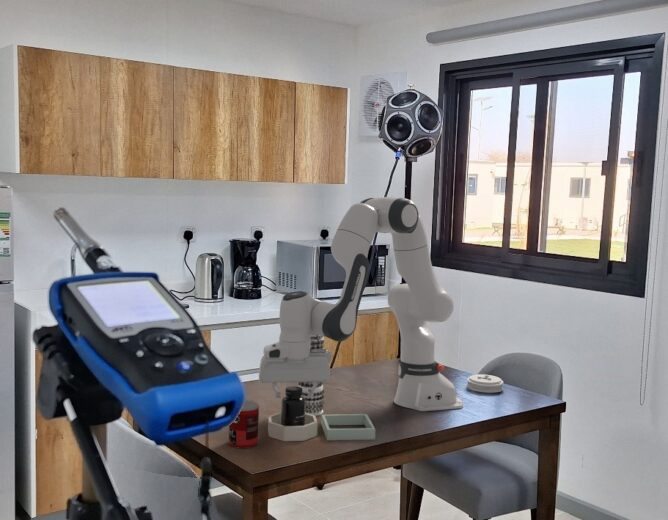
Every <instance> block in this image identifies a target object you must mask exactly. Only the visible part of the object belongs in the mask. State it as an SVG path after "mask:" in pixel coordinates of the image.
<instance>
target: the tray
mask: <svg viewBox="0 0 668 520" xmlns="http://www.w3.org/2000/svg"><path fill="white" fill-rule="evenodd" d="M320 423H321V427H322V429H323V433H324V436H325V438H326V441H357V440H358V441H359V440H360V441H361V440H362V441H363V440H376V428H375V426H374V424H373V422H372V421H371V419H370V417H369V415H368V414H367V413H350V414H349V413H345V414H344V413H343V414H341V413H339V414H338V413H335V414H332V413H331V414H321V422H320ZM354 425H356V426H361V425H364V427H362V428H361V427H359V428H356V427H355V428H354V427H353V428H330V426H354Z"/></svg>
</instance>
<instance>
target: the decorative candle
mask: <svg viewBox="0 0 668 520" xmlns="http://www.w3.org/2000/svg"><path fill="white" fill-rule="evenodd" d="M325 339H326V337H325V336H321V335H317V334H315V333H312V334H311V335H310V349H325V347H324V345H325V343H324V342H325ZM312 386H313V384H312V382H298V384H297V387H301V388H302V397H303V398H304V399H305V413H307V414H311V415H314V416H315V417H318V416H322V415H324V410H323V409H324V408H325V407H324V403H325V402H324V400H323V399H324V398H325V395H324V393H325V390H324V384H323V382H318V386H317V387H316V389H315V390H314V397H308V389H311V388H312Z"/></svg>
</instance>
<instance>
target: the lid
mask: <svg viewBox="0 0 668 520" xmlns="http://www.w3.org/2000/svg"><path fill="white" fill-rule="evenodd" d="M466 381H467V385H466V388H467V389H468V390H471V391H474V392H478V393H479V392H480V393H499V392H502V391H503V390H504V388H503V384H504V381H503V379H502V378H500V377H498V376H495V375H489V374H485V373H483V374H480V373H479V374H472V375H470V376H469V377H467V378H466Z"/></svg>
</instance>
